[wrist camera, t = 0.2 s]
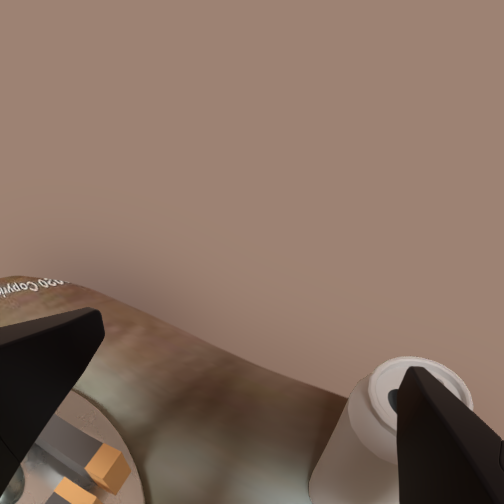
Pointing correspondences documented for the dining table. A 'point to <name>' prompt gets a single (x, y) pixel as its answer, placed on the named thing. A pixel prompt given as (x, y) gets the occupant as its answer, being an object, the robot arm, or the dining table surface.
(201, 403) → the dining table surface
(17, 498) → the plate
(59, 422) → the grey and orange bar
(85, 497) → the foot screw
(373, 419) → the can
